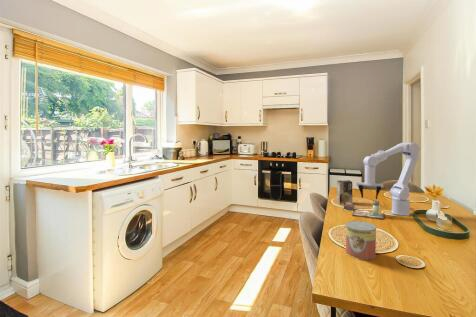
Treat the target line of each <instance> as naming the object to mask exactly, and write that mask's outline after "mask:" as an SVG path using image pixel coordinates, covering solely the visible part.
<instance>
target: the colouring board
mask: <svg viewBox="0 0 476 317" xmlns="http://www.w3.org/2000/svg"><path fill="white" fill-rule="evenodd" d="M384 215H385V212H380V211H379V215H373V211H370V210H369V211H368V210H360V209H354V211H353V213H352V217H356V218H357V217H359V218H367V219H375V220H381V221H382V220H384Z"/></svg>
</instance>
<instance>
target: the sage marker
mask: <svg viewBox="0 0 476 317" xmlns="http://www.w3.org/2000/svg"><path fill="white" fill-rule="evenodd" d="M372 212H373V215H379V212H380V201H377V200H373V201H372Z"/></svg>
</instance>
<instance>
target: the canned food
mask: <svg viewBox="0 0 476 317" xmlns="http://www.w3.org/2000/svg"><path fill="white" fill-rule="evenodd" d="M345 227H346V228H345V253H346V252H347V253H348V254H349V255H351V256H353V257H355V258H354V259H356V258H358V259H357V260H361V259H366V260H365V261H369V260H368V259H371V260H373V258H374V259H375V258H376V255H377V254H376V247H377V246H376V243H377V242H376V241H377V240H376V238H377V226H376V225H374V224H373V223H370V222H367V221H362V220H361V221H359V220H352V221H347V222H346V223H345ZM349 255H348V256H349ZM351 256H350V257H351ZM353 257H352V258H353Z"/></svg>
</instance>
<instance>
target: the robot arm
mask: <svg viewBox="0 0 476 317" xmlns="http://www.w3.org/2000/svg"><path fill="white" fill-rule="evenodd" d="M420 149H421V148H420V146H419V145H418V143H417V142H404V141H403V142H401V143H398V144H396V145H394V146H392V147H390V148H389V149H387V150H385V151H384V150H377V152H376V153H372V154H371V155H367V156H364V159H363V160H362V164H363V165H364V182H363V181H362V182H360V181H359V182H357V181H356V183H355V184H356V186H357V188H358V190H359V192H360V195H361V198H362V199H364V187H374V188H375V189H376V192H375V200H378V197H379V193H380V191H381V190H382V188H384V183H379V182H377V183H376V166H377V165H378V164H379V163H381V162H383V161H385V160H387V159H388V158H389V156H393V155H395V154H398V153H401V154H402V155H403V156H404V157H405V158H406V160H405V163H404V166H403V167H402V170H401V173H400V176H399V178H398V179H397V182H396V183H394V184H393V185H392V187H391V188H390V190H389V195H390V196H391V210H390V214H391V215H398V216H406V217H409V216H410V213H411V209H410V208H411V204H410V202H411V201H410V199H408V198H409V197H410V190H411V189H410V187H409V183H410V180H411V179H412V178H411V177H412V175H413V173H414V170H415V167H416V166H417V164H418V163H417V162H418V161H419V152H420Z"/></svg>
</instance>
